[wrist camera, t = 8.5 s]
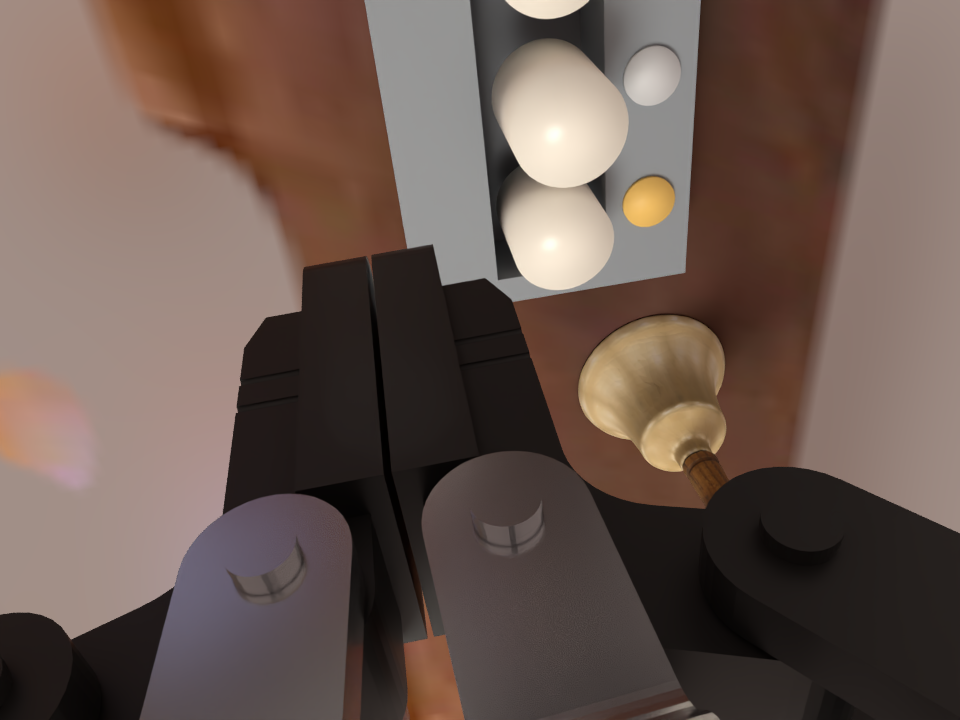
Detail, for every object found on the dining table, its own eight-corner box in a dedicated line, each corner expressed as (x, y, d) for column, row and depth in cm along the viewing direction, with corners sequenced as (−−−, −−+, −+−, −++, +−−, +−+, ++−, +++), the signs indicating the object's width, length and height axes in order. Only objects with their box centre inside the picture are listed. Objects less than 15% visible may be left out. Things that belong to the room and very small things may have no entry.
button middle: (486, 46, 29) (506, 80, 26) (595, 30, 29) (629, 61, 26) (496, 153, 31) (516, 196, 28) (597, 137, 32) (628, 178, 28)
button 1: (491, 165, 33) (509, 206, 30) (586, 150, 34) (614, 189, 30) (499, 251, 36) (517, 297, 33) (588, 236, 36) (614, 281, 33)
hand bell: (613, 300, 41) (742, 533, 29) (749, 329, 44) (924, 556, 31) (555, 423, 46) (645, 674, 33) (682, 444, 48) (812, 685, 35)
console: (333, -178, 28) (335, -172, 25) (670, -221, 29) (716, -221, 25) (411, 272, 39) (419, 319, 35) (655, 232, 39) (686, 274, 36)
